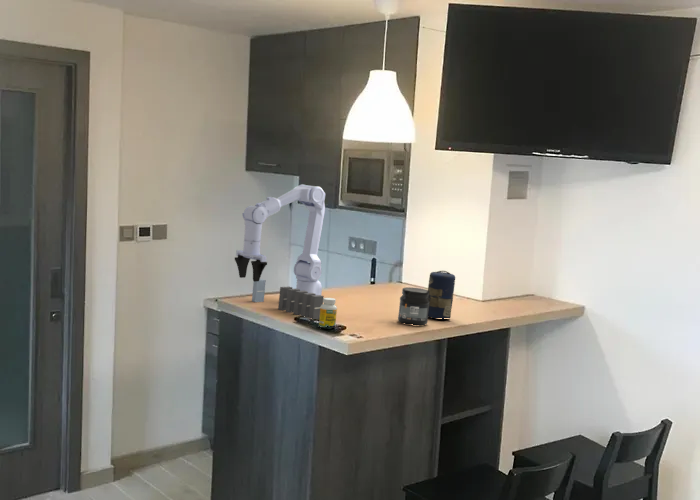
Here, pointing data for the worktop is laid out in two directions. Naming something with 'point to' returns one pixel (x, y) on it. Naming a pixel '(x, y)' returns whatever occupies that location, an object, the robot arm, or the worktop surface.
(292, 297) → the domino
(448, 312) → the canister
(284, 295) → the domino
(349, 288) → the worktop surface
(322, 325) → the supplement bottle
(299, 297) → the domino
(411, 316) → the supplement container
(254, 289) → the domino
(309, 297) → the domino
